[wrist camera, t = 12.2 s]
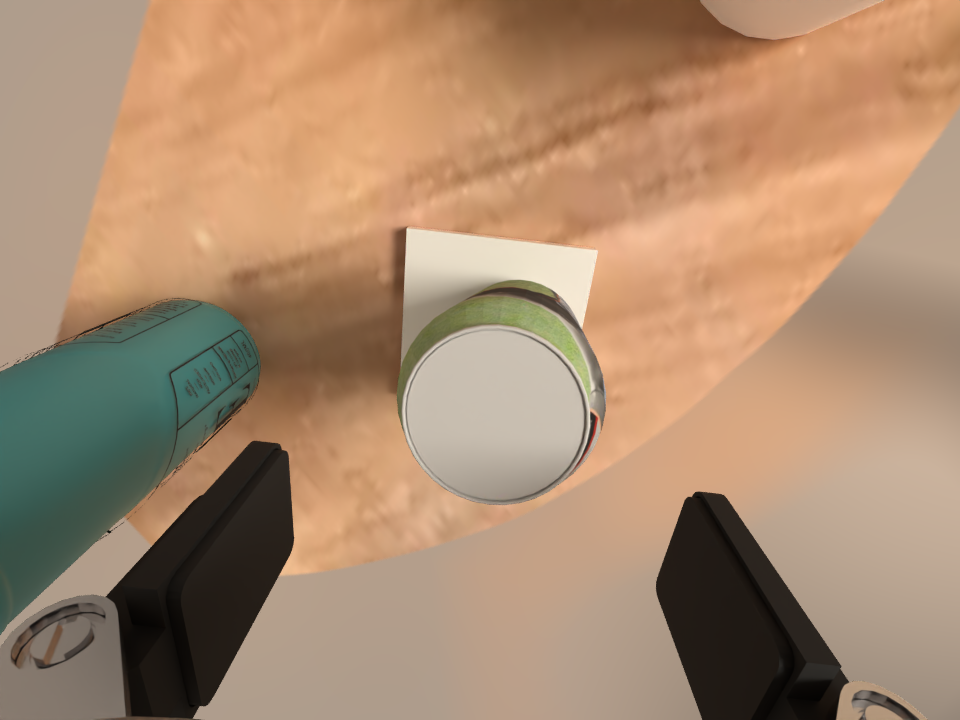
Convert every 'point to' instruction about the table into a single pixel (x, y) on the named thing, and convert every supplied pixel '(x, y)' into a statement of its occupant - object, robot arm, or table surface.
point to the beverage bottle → (108, 430)
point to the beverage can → (502, 395)
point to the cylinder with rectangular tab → (782, 15)
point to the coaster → (485, 272)
